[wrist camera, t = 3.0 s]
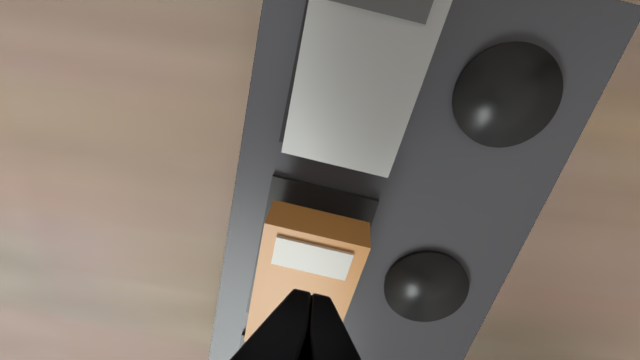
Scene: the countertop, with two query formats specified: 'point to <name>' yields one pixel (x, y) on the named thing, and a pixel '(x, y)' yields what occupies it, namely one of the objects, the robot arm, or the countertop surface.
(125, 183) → the countertop surface
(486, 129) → the power strip
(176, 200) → the countertop surface
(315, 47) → the rocker
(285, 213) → the block
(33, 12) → the countertop surface
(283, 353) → the robot arm
